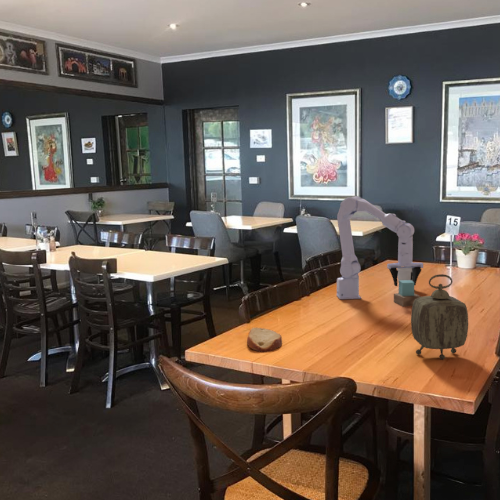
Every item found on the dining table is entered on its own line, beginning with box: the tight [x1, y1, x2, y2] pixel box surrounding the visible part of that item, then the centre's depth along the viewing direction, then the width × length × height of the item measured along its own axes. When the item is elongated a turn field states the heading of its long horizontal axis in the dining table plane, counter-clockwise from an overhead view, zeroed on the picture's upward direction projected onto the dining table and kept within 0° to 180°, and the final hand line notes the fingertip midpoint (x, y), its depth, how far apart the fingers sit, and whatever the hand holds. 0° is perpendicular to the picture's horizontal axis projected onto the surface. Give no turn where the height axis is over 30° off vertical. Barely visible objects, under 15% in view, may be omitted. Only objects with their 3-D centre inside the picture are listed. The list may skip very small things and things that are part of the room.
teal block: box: [398, 280, 415, 296], centre depth 229 cm, size 5×5×6 cm
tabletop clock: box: [410, 273, 469, 361], centre depth 162 cm, size 14×9×25 cm, turn 92°
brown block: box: [393, 292, 422, 308], centre depth 229 cm, size 8×8×4 cm
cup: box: [396, 268, 413, 283], centre depth 253 cm, size 8×8×10 cm
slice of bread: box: [246, 327, 283, 353], centre depth 184 cm, size 18×18×4 cm
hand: (404, 285), depth 230 cm, fingers open, 7 cm apart
